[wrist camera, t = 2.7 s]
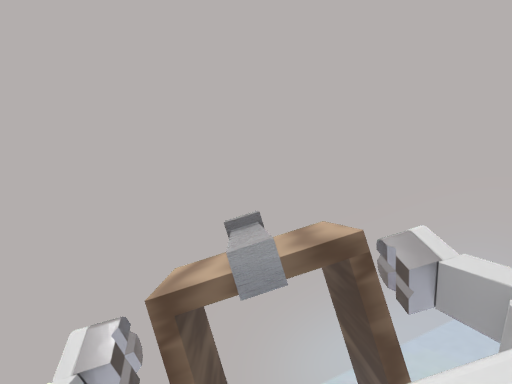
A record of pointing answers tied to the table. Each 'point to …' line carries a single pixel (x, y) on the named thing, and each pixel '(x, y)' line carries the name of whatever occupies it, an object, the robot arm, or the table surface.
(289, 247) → the wooden side table
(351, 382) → the table surface
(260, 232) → the bar
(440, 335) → the table surface
